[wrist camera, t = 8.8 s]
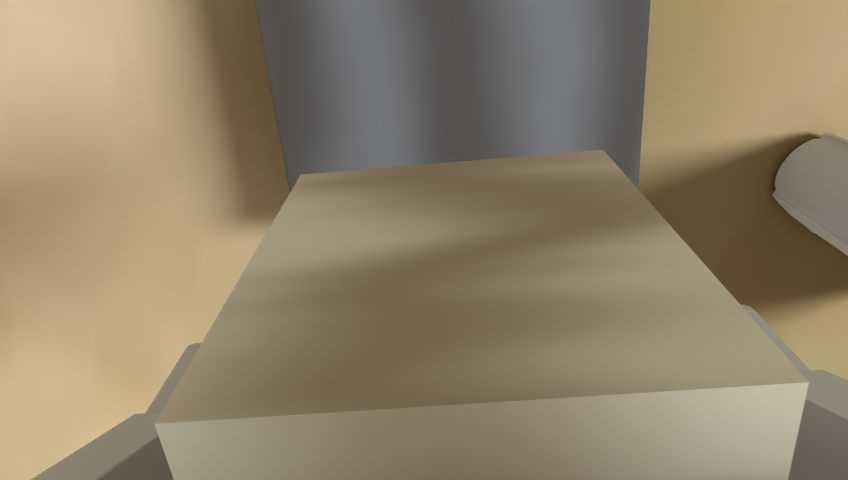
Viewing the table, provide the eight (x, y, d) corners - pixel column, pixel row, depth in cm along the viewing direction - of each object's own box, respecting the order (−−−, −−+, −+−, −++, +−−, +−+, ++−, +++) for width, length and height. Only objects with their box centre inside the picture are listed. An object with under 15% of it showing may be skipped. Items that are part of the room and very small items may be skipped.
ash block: (603, 149, 10) (807, 382, 5) (594, 393, 12) (728, 752, 7) (300, 174, 10) (154, 424, 5) (343, 410, 12) (275, 770, 7)
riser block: (627, -167, 23) (662, -191, 19) (611, 185, 29) (635, 218, 25) (260, -131, 24) (228, -148, 20) (316, 206, 30) (298, 240, 26)
